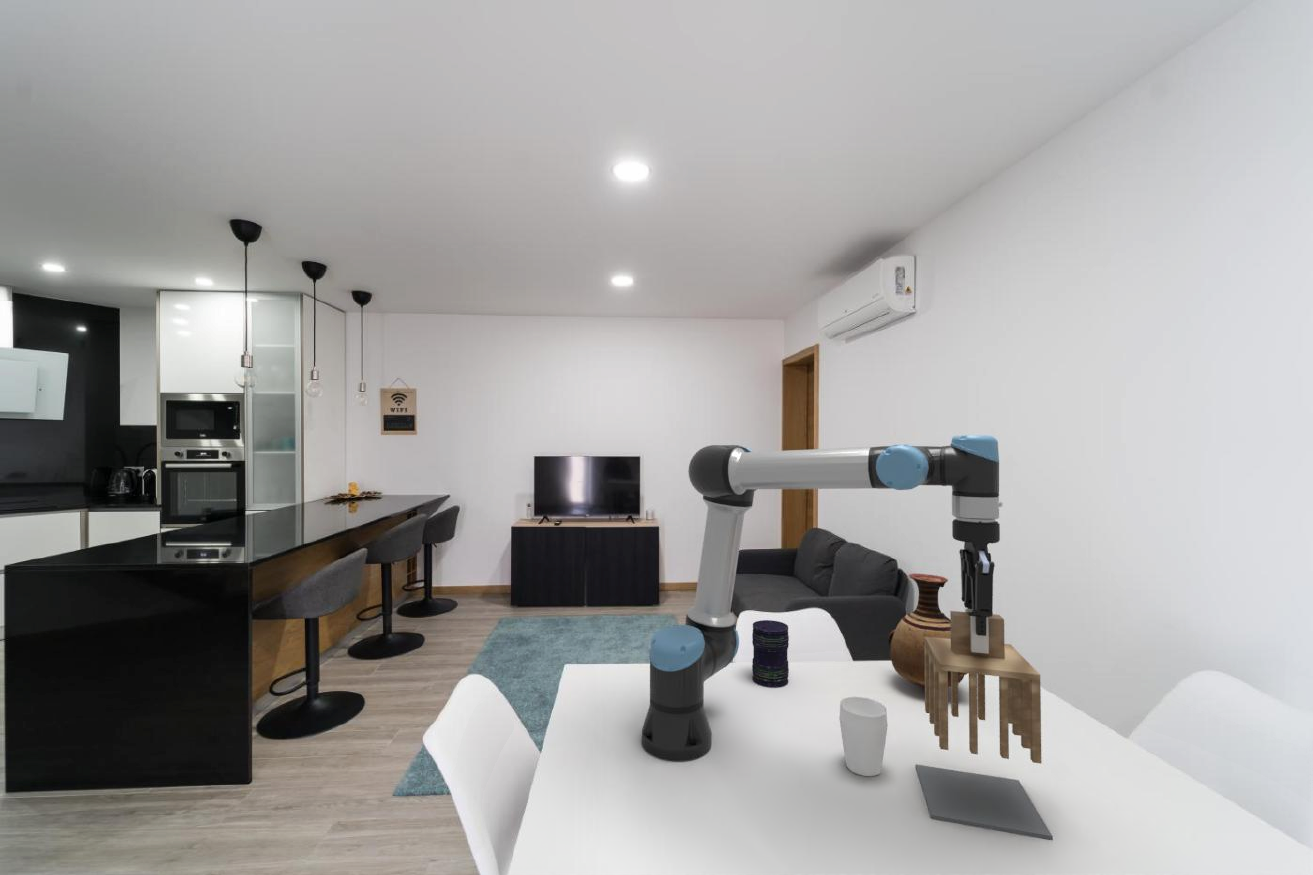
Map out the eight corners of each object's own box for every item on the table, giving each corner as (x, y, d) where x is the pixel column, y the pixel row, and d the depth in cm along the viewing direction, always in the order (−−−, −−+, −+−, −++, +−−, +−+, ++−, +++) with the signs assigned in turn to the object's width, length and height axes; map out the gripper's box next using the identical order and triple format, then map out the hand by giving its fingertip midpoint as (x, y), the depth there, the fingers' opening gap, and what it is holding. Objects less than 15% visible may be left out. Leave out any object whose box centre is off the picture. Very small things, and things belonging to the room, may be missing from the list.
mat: (930, 818, 95) (930, 814, 95) (915, 767, 110) (915, 764, 110) (1052, 839, 90) (1052, 836, 90) (1018, 783, 105) (1018, 780, 105)
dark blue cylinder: (767, 670, 159) (767, 617, 159) (796, 681, 151) (796, 626, 151) (744, 679, 152) (744, 624, 153) (773, 691, 145) (773, 633, 145)
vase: (872, 678, 153) (872, 570, 154) (925, 671, 159) (924, 566, 159) (932, 713, 133) (931, 588, 133) (990, 703, 138) (989, 583, 139)
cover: (940, 749, 95) (939, 623, 96) (925, 710, 109) (924, 601, 110) (1041, 763, 91) (1039, 632, 91) (1011, 721, 105) (1010, 607, 106)
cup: (892, 783, 105) (892, 719, 105) (842, 777, 107) (842, 714, 107) (882, 757, 114) (882, 698, 114) (836, 752, 115) (836, 694, 116)
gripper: (1013, 525, 92) (1015, 667, 92) (985, 515, 108) (987, 636, 107) (963, 523, 94) (964, 662, 94) (943, 513, 110) (944, 632, 109)
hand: (976, 648), depth 100 cm, fingers closed on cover, 3 cm apart
